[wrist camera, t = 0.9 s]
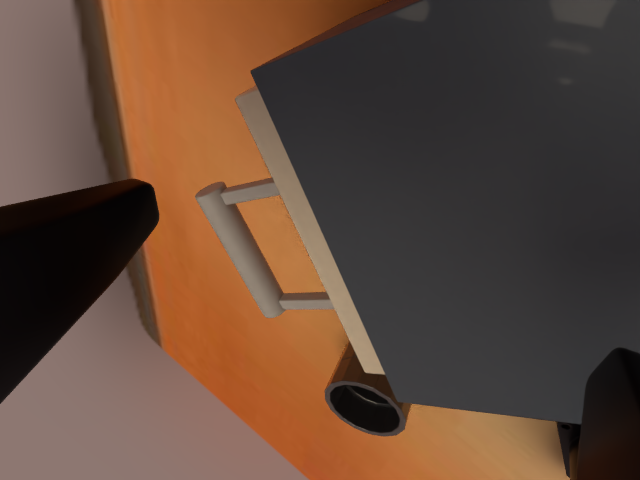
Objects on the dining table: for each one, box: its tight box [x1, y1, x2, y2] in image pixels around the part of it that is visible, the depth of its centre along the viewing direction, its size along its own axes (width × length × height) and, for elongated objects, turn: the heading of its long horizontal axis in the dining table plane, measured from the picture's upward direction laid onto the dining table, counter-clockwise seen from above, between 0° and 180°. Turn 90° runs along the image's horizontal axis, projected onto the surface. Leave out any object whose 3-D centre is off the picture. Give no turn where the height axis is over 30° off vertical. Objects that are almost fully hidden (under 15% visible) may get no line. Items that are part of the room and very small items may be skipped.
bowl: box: [325, 341, 411, 436], centre depth 29 cm, size 6×6×4 cm
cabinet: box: [251, 0, 640, 424], centre depth 13 cm, size 18×15×9 cm
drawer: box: [195, 85, 385, 374], centre depth 16 cm, size 21×13×7 cm, turn 113°
